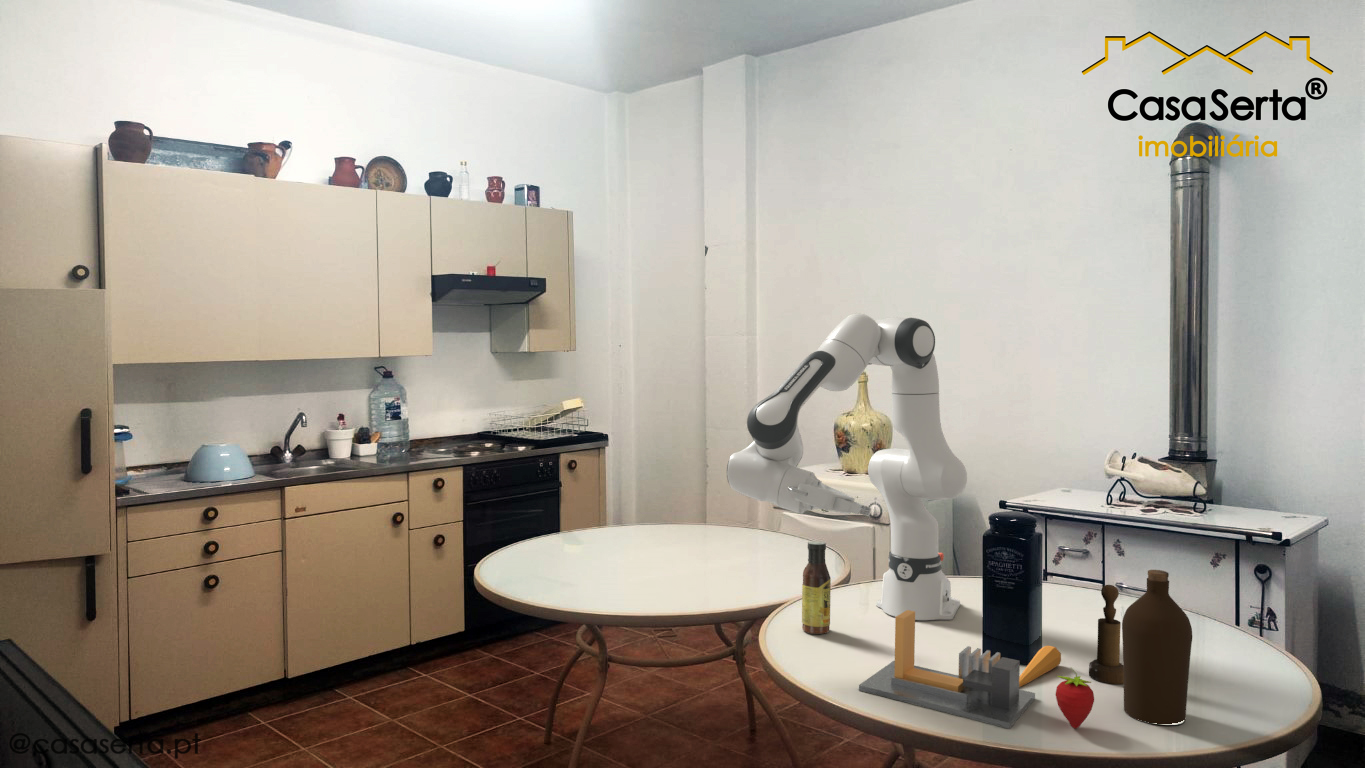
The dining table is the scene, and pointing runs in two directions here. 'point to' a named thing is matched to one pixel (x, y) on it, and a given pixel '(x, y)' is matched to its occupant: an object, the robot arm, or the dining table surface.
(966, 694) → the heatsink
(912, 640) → the orange l-shaped block
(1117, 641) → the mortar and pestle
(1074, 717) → the strawberry
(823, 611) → the sauce bottle
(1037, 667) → the carrot
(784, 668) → the dining table surface
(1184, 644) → the olive oil
